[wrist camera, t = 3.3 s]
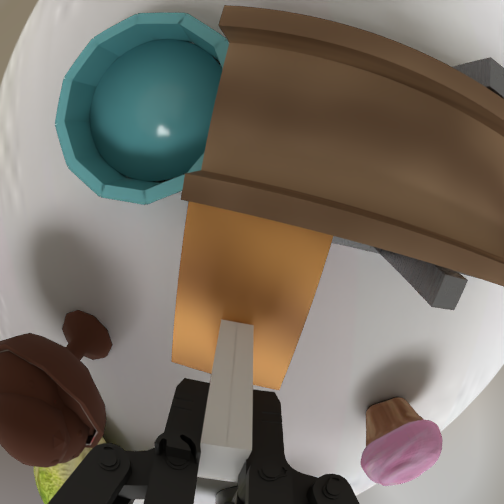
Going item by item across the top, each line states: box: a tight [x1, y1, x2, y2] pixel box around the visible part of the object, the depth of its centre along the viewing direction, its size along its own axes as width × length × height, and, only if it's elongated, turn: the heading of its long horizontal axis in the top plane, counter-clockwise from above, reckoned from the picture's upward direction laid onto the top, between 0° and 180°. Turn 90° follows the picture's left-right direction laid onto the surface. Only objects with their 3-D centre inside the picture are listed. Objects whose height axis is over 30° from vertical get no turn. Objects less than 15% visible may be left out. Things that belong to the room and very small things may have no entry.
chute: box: [171, 5, 504, 390], centre depth 12 cm, size 17×24×6 cm
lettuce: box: [34, 437, 106, 504], centre depth 27 cm, size 15×24×16 cm
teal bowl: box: [55, 13, 229, 205], centre depth 15 cm, size 12×12×4 cm
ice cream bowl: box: [0, 310, 112, 468], centre depth 17 cm, size 11×11×15 cm
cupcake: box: [361, 397, 442, 486], centre depth 22 cm, size 9×9×10 cm
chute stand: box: [331, 58, 504, 310], centre depth 14 cm, size 13×22×10 cm, turn 78°
